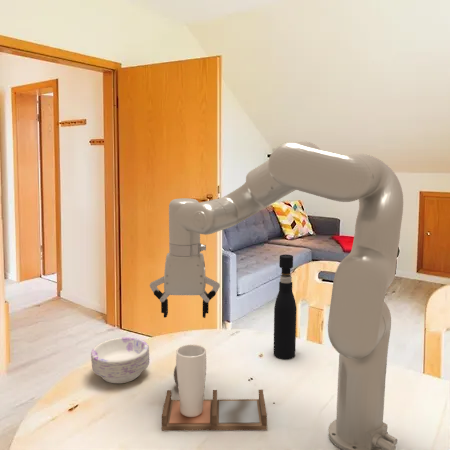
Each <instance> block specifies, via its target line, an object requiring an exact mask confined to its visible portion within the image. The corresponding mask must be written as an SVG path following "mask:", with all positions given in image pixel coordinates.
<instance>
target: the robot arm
mask: <svg viewBox="0 0 450 450" xmlns="http://www.w3.org/2000/svg"><path fill="white" fill-rule="evenodd" d="M295 191H299V192H302V193H306V194H309V195H314V196H317V197H321V198H324V199H327V200H331V201H336V202H339V203H341V202H342V203H351V202H355V201H358V204H359V206H358V212H357V215H356V218H355V219H356V221H355V225H354V227H355V228H354V237H353V242H352V246H351V251H350V252H349V254H348V255H346V256H344V258H343V259H342V260H341V261H340V263H339V264H338V266H337V268H336V271H335V273H334V277H333V282H332V290H331V296H330V297H331V299H330V306H329V314H328V320H327V334H328V338H329V339H328V340H329V341H330V344H331V345H332V347H333V348H334V350H335V351H336V352H337V353H338V354H339V355H338V372H337V394H336V396H337V397H336V419H334V420H333V421H332V422H330V424H329V426H328V437H329V439H330V441H331V442H332V443H333V444H334V445H335V446H336V447H337V448H339V449H340V450H397V446H396V445H397V444H398V438H397V437H395V436H393V435H390V433H389V432H388V424H387V423H385V422H384V415H385V414H384V413H385V411H384V410H385V396H386V395H385V394H386V392H385V391H386V378H387V368H388V367H387V366H388V364H387V363H388V352H389V343H390V337H391V330H392V316H391V315H392V314H391V310H390V308H389V305H388V304H387V303H386V301H385V298H386V293H387V290H388V289H389V288H390V286H391V285H392V283H393V281H394V279H395V276H396V272H397V271H396V270H397V258H398V254H399V252H398V251H399V244H400V238H401V231H402V230H401V228H402V221H403V215H404V214H403V213H404V195H403V194H404V193H403V189H402V185H401V183H400V180H399V178H398V176H397V174H396V173H395V172H394V170H393V169H392V168H391V167H390V166H389V165H388V164H387V163H385V162H384V161H383V160H380V159H379V158H377V157H376V156H373V155H370V154H364V153H354V154H350V155H345V154H340V153H335V152H331V151H326V150H321V148H319V147H318V146H317V144H314V143H313V142H311V141H310V142H309V141H306V140H302V141H298V140H297V141H287V142H284V143H282V144H280V145H278V146H277V147H276V148H274V150H273V151H272V152H271V154H270V156H269V159H267V160H266V161H264V162H263V163H262V164H259V165H258V166H257V167H255V168H253V169H251V170H250V171H249V172H248V173H246V176H245V182H244V183H243V184H242V185H240V186H239V187H238V188H236V189H235V190H233V191H232V192H229V193H228V194H226V195H225V196H223V197H220V198H215V199H210V200H207V201H202V202H201V201H200V202H199V201H198V200H197V199H195V198H189V197H188V198H187V197H186V198H185V197H184V198H174V199H172V200H170V202H169V205H168V238H169V239H168V243H169V244H168V247H169V250H168V251H169V252H168V253H166V257H165V263H164V274H163V276H161V277H159V278H158V279H155V280H153V281H151V282H150V284H149V288H150V289H151V291H152V292H153V295H154V297H156V298H157V299H158V300H159V302H160V308H161V309H160V310H161V311H160V313H161V314H163V318H167V317H168V315H169V300H168V297H169V296H200V298H201V299H202V318H203V319H206V316H207V315H206V314H209V310H210V309H209V303H210V301H211V300H212V299H213V298H214V297H215V296H216V294H217V293H218V290H219V288H220V287H221V284H220V282H218V281H216V280H213V279H212V278H210V277H208V276H206V264H205V263H206V262H205V256H204V253H203V251H206V250H207V244H202V242H201V235H205V236H206V235H207V236H208V235H212V234H214V233H218V232H221V231H223V230H224V231H225V230H226V229H230V228H231V227H234V226H236V225H239V224H240V223H241V222H244V221H245V220H247V219H248V218H250V217H253V216H254V215H255V214H257V213H259V212H260V211H261V210H264V209H266V208H267V207H269V206H270V205H272V204H275V203H276V202H278V201H279V200H281V199H282V198H284V197H286V196H288V195H289V194H292V193H294V192H295ZM162 284H163V290H164V291H163V292H162V291H161V290H160V289H159V288H158V287H159V286H160V285H162ZM206 285H209V286H210V287H212V289H211V290H210V291H209V292H207V291H206Z"/></svg>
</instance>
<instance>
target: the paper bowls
mask: <svg viewBox="0 0 450 450" xmlns="http://www.w3.org/2000/svg"><path fill="white" fill-rule="evenodd" d="M90 360H91V370H92V372H93V373H94V374H95V375H97V376H99V377H101V378H102V379H103V380H104V381H105V382H107V383H110V384H124V383H129V382H132V381H134V380H136V379H137V378H138V377H140V375H141V374H142V372H143V371H145V370H146V369H147V368H148V366H149V365H150V347H149V344H148V343H147V342H146V341H145V340H143V339H141V338H137V337H131V336H130V337H129V336H126V337H125V336H123V337H117V338H116V337H115V338H111V339H107V340H104V341H102V342H100V343H98V344H97V345H95V346H94V347H93V348H92V350H91V352H90Z"/></svg>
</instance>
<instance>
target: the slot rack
mask: <svg viewBox="0 0 450 450" xmlns="http://www.w3.org/2000/svg"><path fill="white" fill-rule="evenodd" d="M165 393H166V395H165V399H164V404H163V408H162V412H161V431H175V432H176V431H267V430H268V425H267V423H268V414H267V408H266V403H265V402H266V401H265V397H264V396H265V395H264V389H258V398H256V399H255V398H250V399H248V398H247V399H245V398H244V399H243V398H242V399H241V398H239V399H238V398H236V399H235V398H231V399H230V398H229V399H228V398H227V399H222V398H221V399H218V390H217V389H213V390H212V399H204V400H203V412H202V413H201V414H200V415H199V416H196V417H186V416H184V415H182V414H181V412H180V400H179V399H173V398H172V390H171V389H168V390H166V392H165Z"/></svg>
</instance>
